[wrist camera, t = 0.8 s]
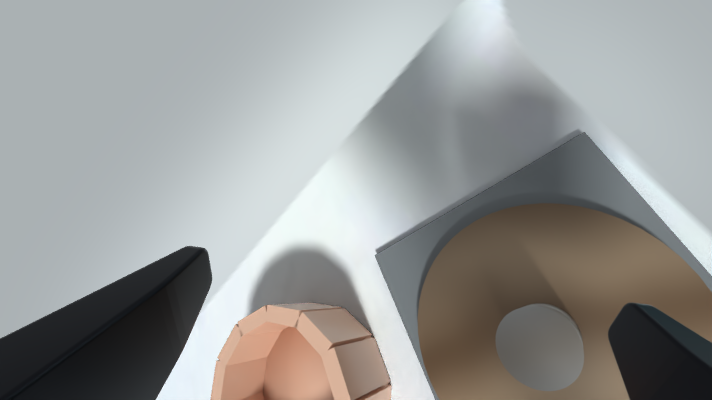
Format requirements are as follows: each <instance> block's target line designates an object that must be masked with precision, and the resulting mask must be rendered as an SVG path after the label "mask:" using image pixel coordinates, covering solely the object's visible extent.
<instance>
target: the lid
mask: <svg viewBox="0 0 712 400" xmlns="http://www.w3.org/2000/svg"><path fill="white" fill-rule="evenodd" d="M631 302H633V303H641V304H648V305H651V306H654V307H656V308H657V309H659V310H660V311H662V312H663V313H665V314H667V315H668V316H670V317H671V318H673V319H675V320H676V321H678V322H679V323H681V324H683V325H684V326H686V327H687V328H689V329H691V330H692V331H694V332H695V333H697V334H699V335H700V336H702V337H703V338H705V339H707V340H708V341H710V342H711V343H712V292H711V291H710V289H709V288H708V287H707V285H706V284H705V283H704V281H703V280H702V279H701V278H700V276H699V275H698V274H697V273H696V272H695V271H694V270H693V269H692V268H691V267H690V266H689V265H688V264H687V263H686V262H685V261H684V260H683V259H682V258H681V257H680V256H679V255H678V254H676V253H675V252H674V251H673V250H671V249H670V248H669V247H668V246H666V245H665V244H664V243H663V242H661V241H660V240H658V239H657V238H655V237H653V236H652V235H650V234H649V233H647V232H646V231H644V230H643V229H641V228H639V227H637V226H635V225H632V224H630V223H628V222H626V221H624V220H622V219H620V218H617V217H614V216H612V215H609V214H606V213H604V212H601V211H597V210H593V209H589V208H585V207H581V206H574V205H566V204H554V203H538V204H526V205H520V206H515V207H510V208H506V209H503V210H500V211H497V212H494V213H491V214H489V215H486V216H484V217H482V218H480V219H478V220H476V221H474V222H473V223H471V224H470V225H468V226H467V227H465V228H464V229H462V230H461V231H460V232H459V233H458V234H456V235H455V236H454V237H453V238H452V239H451V240H450V241H449V242H448V243H447V244H446V245H445V247H444V248H443V249H442V250H441V252H440V253H439V254H438V256H437V257H436V259H435V260H434V262H433V264H432V266H431V268H430V270H429V271H428V273H427V276H426V279H425V282H424V284H423V287H422V291H421V296H420V300H419V309H418V336H419V344H420V350H421V354H422V358H423V362H424V365H425V368H426V371H427V374H428V376H429V379H430V382H431V384H432V386H433V388H434V390H435V392H436V394H437V396H438V398H439V399H440V400H630V399H629V396H628V393H627V390H626V388H625V385H624V382H623V379H622V376H621V374H620V371H619V368H618V365H617V362H616V359H615V357H614V354H613V351H612V348H611V345H610V343H609V339H608V330H609V327H610V326H611V324H612V323H613V321H614V320H615V318H616V316H617V315H618V313H619V312H620V310H621V309H622V307H623V306H624V305H625V304H627V303H631Z"/></svg>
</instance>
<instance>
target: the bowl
mask: <svg viewBox="0 0 712 400" xmlns="http://www.w3.org/2000/svg"><path fill="white" fill-rule="evenodd" d="M371 336H372V334H371V333H370V332H369V331H368V330H367V329H366V328H365V327H364V326H363V325H362V324H361V323H360V322H359V321H357V320H356V319H355V318H354V317H353V316H352V315H351V314H350V313H349V312H348V311H347V310H346V309H345V308H343V309H342V307H338V306H332V305H325V304H319V303H293V304H274V305H265V306H263V307H261V308H260V309H258V310H256V311H255V312H253V313H252V314H250V315H248V316H247V317H245V318H243V319H242V320H240V321H238V324H236V325H235V326H234V328H233V330H232V332H231V334H230V336H229V337H228V339H227V341H226V343H225V345H224V346H223V348H222V350H221V352H220V354H219V355H218V359H219V360H217V361H216V367H215V373H214V380H213V386H212V393H211V400H391V385H389V382H391V381H390V378H389V375H388V373H387V370H386V367H385V365H384V362H383V359H382V357H381V354H380V351H379V349H378V346H377V343H376V341H375V338H372V337H371Z"/></svg>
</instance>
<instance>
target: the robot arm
mask: <svg viewBox="0 0 712 400" xmlns="http://www.w3.org/2000/svg"><path fill="white" fill-rule="evenodd" d="M211 283H212V272H211V267H210V261H209V255H208V252H207V250H206V249H205V248H201V247H193V246H187V247H184V248H182V249H180V250H178V251H176V252H174V253H172V254H170V255H168V256H166V257H164V258H162V259H160V260H158V261H155V262H153V263H151V264H149V265H147V266H146V267H144V268H141V269H139V270H137V271H135V272H133V273H132V274H129V275H127V276H126V277H123V278H121V279H119V280H117V281H115V282H114V283H112V284H109V285H107V286H105V287H103V288H101V289H100V290H97V291H95V292H93V293H91V294H89V295H87V296H85V297H83V298H81V299H79V300H77V301H75V302H73V303H71V304H69V305H67V306H65V307H63V308H61V309H59V310H57V311H55V312H53V313H51V314H49V315H47V316H45V317H43V318H41V319H39V320H37V321H35V322H33V323H31V324H29V325H27V326H25V327H23V328H21V329H19V330H17V331H15V332H13V333H11V334H9V335H7V336H5V337H2V338H0V400H156V398H157V396H158V394H159V393H160V391H161V389H162V387H163V385H164V384H165V382H166V380H167V378H168V376H169V375H170V373H171V371H172V369H173V368H174V366H175V364H176V362H177V360H178V358H179V357H180V355H181V353H182V351H183V349H184V347H185V344H186V342H187V340H188V338H189V335H190V333H191V331H192V329H193V326H194V324H195V322H196V319H197V317H198V315H199V312H200V310H201V308H202V305H203V303H204V300H205V298H206V296H207V294H208V291H209V289H210V286H211ZM608 339H609V343H610V345H611V348H612V351H613V354H614V357H615V359H616V362H617V365H618V368H619V371H620V374H621V376H622V379H623V382H624V385H625V388H626V390H627V393H628V396H629V399H630V400H712V343H711V342H710V341H708V340H707V339H705V338H703V337H702V336H700V335H699V334H697V333H695V332H694V331H692V330H691V329H689V328H687V327H686V326H684V325H683V324H681V323H679V322H678V321H676V320H675V319H673V318H671V317H670V316H668V315H667V314H665V313H663V312H662V311H660V310H659V309H657V308H656V307H654V306H651V305H648V304H641V303H633V302H631V303H627V304H625V305H624V306H623V307H622V309H621V310H620V312H619V313H618V315H617V316H616V318H615V320H614V321H613V323H612V324H611V326H610V327H609V330H608Z"/></svg>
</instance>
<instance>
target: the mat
mask: <svg viewBox="0 0 712 400" xmlns="http://www.w3.org/2000/svg"><path fill="white" fill-rule="evenodd" d="M538 203H554V204H566V205H574V206H581V207H585V208H589V209H593V210H597V211H601V212H604V213H606V214H609V215H612V216H614V217H617V218H620V219H622V220H624V221H626V222H628V223H630V224H632V225H635V226H637V227H639V228H641V229H643V230H644V231H646V232H647V233H649V234H650V235H652V236H653V237H655V238H657V239H658V240H660V241H661V242H663V243H664V244H665V245H666V246H668V247H669V248H670V249H671V250H673V251H674V252H675V253H676V254H678V255H679V256H680V257H681V258H682V259H683V260H684V261H685V262H686V263H687V264H688V265H689V266H690V267H691V268H692V269H693V270H694V271H695V272H696V273H697V274H698V275H699V276H700V278H701V279H702V280H703V281H704V283H705V284H706V285H707V287H708V288H709V289H710V291H711V292H712V276H711V275H710V274H709V273H708V271H707V270H706V269H705V268H704V267H703V266H702V265H701V264H700V262H699V261H698V260H697V259H696V258H695V257H694V256H693V254H692V253H691V252H690V251H689V250H688V249H687V248H686V247H685V245H684V244H683V243H682V242H681V241H680V240H679V239H678V237H677V236H676V235H675V234H674V233H673V232H672V231H671V230H670V228H669V227H668V226H667V225H666V224H665V223H664V222H663V220H662V219H661V218H660V217H659V216H658V215H657V214H656V213H655V211H654V210H653V209H652V208H651V207H650V206H649V205H648V203H647V202H646V201H645V200H644V199H643V198H642V197H641V196H640V194H639V193H638V192H637V191H636V190H635V189H634V188H633V186H632V185H631V184H630V183H629V182H628V181H627V180H626V179H625V177H624V176H623V175H622V174H621V173H620V172H619V171H618V169H617V168H616V167H615V166H614V165H613V164H612V163H611V162H610V160H609V159H608V158H607V157H606V156H605V155H604V154H603V152H602V151H601V150H600V149H599V148H598V147H597V146H596V145H595V143H594V142H593V141H592V140H591V139H590V138H589V137H588V135H587V134H586V133H585V132H584V133H582V134H580V135H578V136H577V137H575V138H573V139H572V140H570V141H568V142H567V143H565V144H563V145H561V146H560V147H558V148H556V149H555V150H553V151H551V152H550V153H548V154H546V155H544V156H543V157H541V158H539V159H538V160H536V161H534V162H533V163H531V164H529V165H527V166H526V167H524V168H522V169H521V170H519V171H517V172H516V173H514V174H512V175H510V176H509V177H507V178H505V179H504V180H502V181H500V182H499V183H497V184H495V185H494V186H492V187H490V188H488V189H487V190H485V191H483V192H482V193H480V194H478V195H477V196H475V197H473V198H471V199H470V200H468V201H466V202H465V203H463V204H461V205H460V206H458V207H456V208H454V209H453V210H451V211H449V212H448V213H446V214H444V215H443V216H441V217H439V218H437V219H436V220H434V221H432V222H431V223H429V224H427V225H426V226H424V227H422V228H420V229H419V230H417V231H415V232H414V233H412V234H410V235H409V236H407V237H405V238H403V239H402V240H400V241H398V242H397V243H395V244H393V245H392V246H390V247H388V248H386V249H385V250H383V251H381V252H380V253H378V254H376V255H375V257H376V260H377V262H378V264H379V267H380V269H381V271H382V274H383V276H384V279H385V281H386V283H387V286H388V288H389V290H390V293H391V295H392V298H393V300H394V302H395V305H396V307H397V310H398V312H399V314H400V317H401V319H402V321H403V324H404V326H405V329H406V331H407V333H408V336H409V338H410V340H411V343H412V345H413V348H414V350H415V352H416V355H417V357H418V360H419V362H420V364H421V367H422V369H423V371H424V374H425V376H426V379H427V381H428V383H429V386H430V388H431V390H432V393H433V395H434V398H435V400H440V399H439V398H438V396H437V394H436V392H435V390H434V388H433V386H432V384H431V382H430V379H429V376H428V374H427V371H426V368H425V365H424V362H423V358H422V354H421V350H420V344H419V336H418V309H419V300H420V296H421V291H422V287H423V284H424V282H425V279H426V276H427V273H428V271H429V270H430V268H431V266H432V264H433V262H434V260H435V259H436V257H437V256H438V254H439V253H440V252H441V250H442V249H443V248H444V247H445V245H446V244H447V243H448V242H449V241H450V240H451V239H452V238H453V237H454V236H455V235H456V234H458V233H459V232H460V231H461V230H462V229H464V228H465V227H467V226H468V225H470V224H471V223H473V222H474V221H476V220H478V219H480V218H482V217H484V216H486V215H489V214H491V213H494V212H497V211H500V210H503V209H506V208H510V207H515V206H520V205H526V204H538Z"/></svg>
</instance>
